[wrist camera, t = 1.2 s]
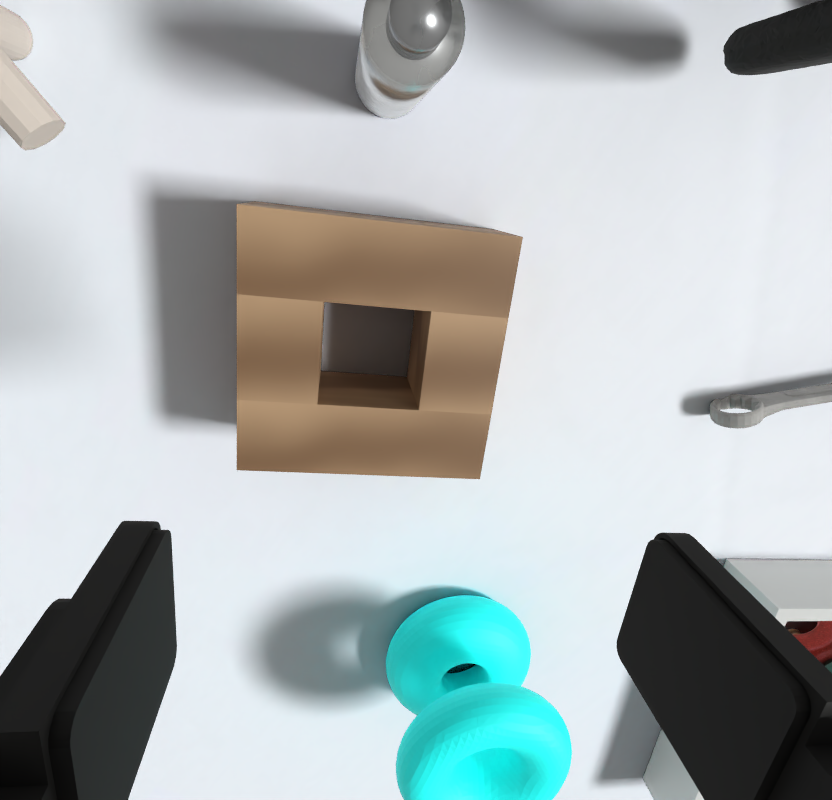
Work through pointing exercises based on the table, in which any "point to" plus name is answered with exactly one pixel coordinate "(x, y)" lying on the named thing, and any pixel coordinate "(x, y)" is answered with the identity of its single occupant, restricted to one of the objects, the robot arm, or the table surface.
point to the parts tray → (787, 601)
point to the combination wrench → (766, 404)
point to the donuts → (473, 707)
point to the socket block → (367, 393)
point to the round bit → (406, 51)
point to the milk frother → (782, 41)
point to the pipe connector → (22, 89)
